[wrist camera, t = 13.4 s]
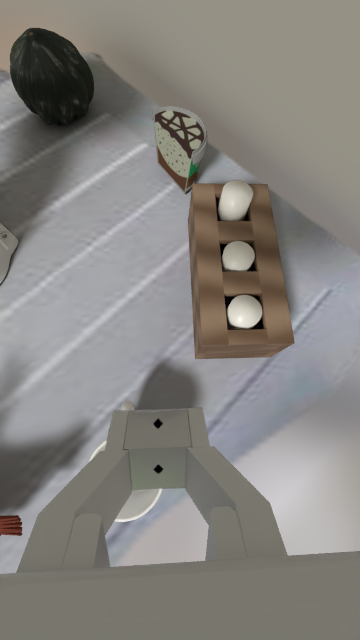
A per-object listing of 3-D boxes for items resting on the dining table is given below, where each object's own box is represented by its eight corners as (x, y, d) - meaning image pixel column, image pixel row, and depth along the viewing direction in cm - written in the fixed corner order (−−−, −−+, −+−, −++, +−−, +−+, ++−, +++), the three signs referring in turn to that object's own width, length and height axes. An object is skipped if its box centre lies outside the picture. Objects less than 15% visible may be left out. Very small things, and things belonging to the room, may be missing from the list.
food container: (214, 186, 56) (224, 138, 47) (189, 199, 55) (194, 154, 45) (178, 146, 59) (180, 95, 50) (153, 158, 58) (151, 107, 48)
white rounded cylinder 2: (246, 283, 44) (256, 267, 40) (218, 284, 44) (225, 268, 39) (243, 259, 46) (252, 240, 41) (216, 259, 46) (222, 240, 41)
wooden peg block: (270, 357, 45) (294, 342, 37) (195, 358, 44) (202, 344, 36) (251, 221, 54) (267, 184, 45) (188, 221, 53) (192, 183, 44)
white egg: (252, 336, 42) (264, 325, 37) (223, 336, 41) (230, 326, 37) (249, 308, 43) (260, 294, 38) (220, 308, 43) (227, 295, 38)
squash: (66, 42, 60) (-1, -16, 46) (118, 79, 58) (64, 30, 44) (44, 112, 66) (-21, 79, 52) (90, 148, 64) (34, 123, 50)
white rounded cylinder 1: (245, 227, 45) (254, 204, 40) (217, 227, 44) (223, 204, 40) (242, 204, 46) (251, 180, 41) (215, 204, 46) (221, 179, 41)
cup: (104, 499, 38) (84, 526, 28) (104, 405, 42) (86, 401, 32) (167, 492, 38) (167, 516, 29) (160, 400, 42) (159, 394, 33)
